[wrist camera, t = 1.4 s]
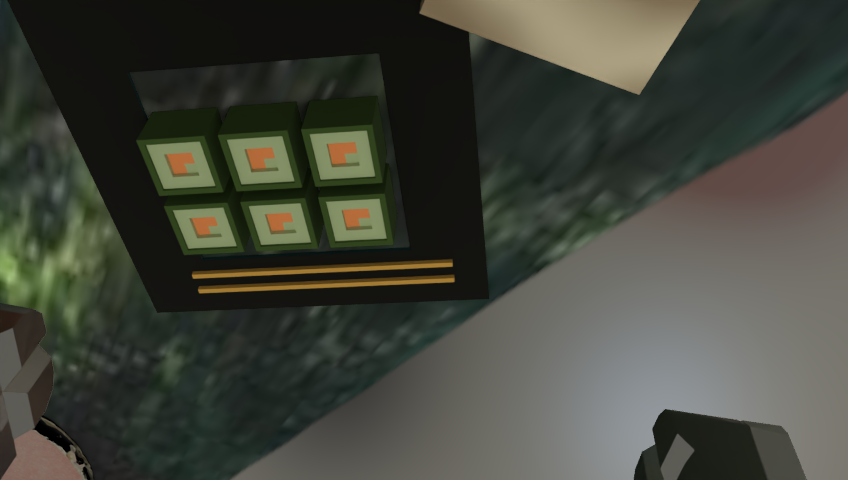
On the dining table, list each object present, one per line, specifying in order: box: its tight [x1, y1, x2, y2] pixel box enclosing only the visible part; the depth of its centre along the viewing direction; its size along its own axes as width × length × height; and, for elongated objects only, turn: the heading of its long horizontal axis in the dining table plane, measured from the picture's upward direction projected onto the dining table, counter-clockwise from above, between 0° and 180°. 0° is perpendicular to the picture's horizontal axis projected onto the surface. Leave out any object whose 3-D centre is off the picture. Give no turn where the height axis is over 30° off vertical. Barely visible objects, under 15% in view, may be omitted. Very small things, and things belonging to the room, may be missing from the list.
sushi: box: [8, 0, 489, 313], centre depth 49 cm, size 25×25×4 cm
